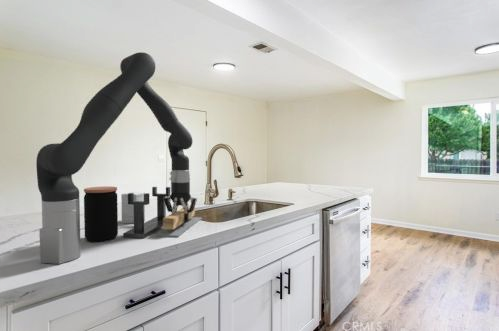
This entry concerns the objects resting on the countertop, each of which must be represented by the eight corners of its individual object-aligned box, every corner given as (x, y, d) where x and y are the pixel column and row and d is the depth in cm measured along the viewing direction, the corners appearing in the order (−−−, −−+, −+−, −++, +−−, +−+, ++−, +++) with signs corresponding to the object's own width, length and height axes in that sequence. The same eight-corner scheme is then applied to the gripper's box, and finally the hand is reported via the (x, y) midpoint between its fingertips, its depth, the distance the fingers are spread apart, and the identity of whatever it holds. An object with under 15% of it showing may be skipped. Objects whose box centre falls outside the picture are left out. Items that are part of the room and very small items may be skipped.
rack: (144, 238, 107) (143, 195, 106) (123, 237, 108) (122, 194, 107) (173, 220, 134) (173, 186, 134) (156, 219, 135) (156, 185, 135)
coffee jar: (109, 232, 114) (108, 185, 113) (123, 237, 107) (122, 188, 106) (79, 238, 106) (78, 188, 105) (92, 244, 99) (91, 191, 98)
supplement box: (136, 223, 128) (136, 194, 128) (121, 222, 130) (120, 193, 129) (145, 219, 135) (145, 192, 135) (131, 219, 137) (130, 191, 136)
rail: (173, 229, 110) (173, 218, 110) (163, 229, 111) (162, 218, 111) (194, 215, 136) (194, 206, 136) (186, 214, 137) (186, 206, 136)
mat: (178, 237, 108) (178, 235, 108) (154, 236, 109) (154, 234, 109) (201, 218, 138) (201, 217, 138) (182, 218, 139) (182, 216, 139)
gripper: (160, 181, 120) (160, 223, 121) (194, 182, 118) (194, 225, 119) (167, 179, 127) (167, 219, 128) (199, 180, 125) (199, 220, 126)
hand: (180, 221), depth 123 cm, fingers closed on rail, 4 cm apart
